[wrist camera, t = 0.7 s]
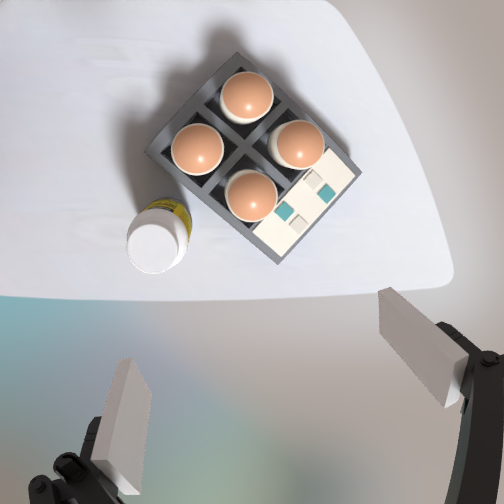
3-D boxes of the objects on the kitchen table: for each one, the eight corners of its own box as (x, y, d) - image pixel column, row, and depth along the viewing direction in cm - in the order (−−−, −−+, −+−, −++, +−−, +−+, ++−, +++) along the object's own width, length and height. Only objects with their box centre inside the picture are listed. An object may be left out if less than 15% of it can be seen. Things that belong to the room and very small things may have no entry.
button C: (214, 193, 35) (215, 200, 30) (245, 159, 34) (251, 160, 30) (248, 222, 36) (254, 233, 32) (278, 189, 36) (288, 195, 31)
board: (148, 151, 35) (142, 152, 32) (235, 59, 33) (237, 50, 30) (273, 257, 41) (278, 266, 38) (352, 170, 39) (363, 172, 36)
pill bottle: (182, 189, 37) (172, 204, 27) (199, 237, 39) (196, 269, 29) (134, 207, 37) (108, 228, 27) (153, 253, 39) (134, 290, 29)
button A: (166, 152, 33) (159, 152, 28) (197, 117, 32) (195, 112, 28) (200, 181, 34) (199, 186, 30) (231, 147, 34) (235, 146, 29)
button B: (209, 104, 32) (209, 96, 27) (241, 72, 31) (246, 60, 27) (244, 133, 33) (249, 131, 29) (274, 101, 33) (284, 94, 28)
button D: (257, 146, 34) (265, 145, 30) (288, 114, 33) (299, 109, 29) (290, 176, 36) (302, 180, 31) (319, 145, 35) (335, 144, 30)
